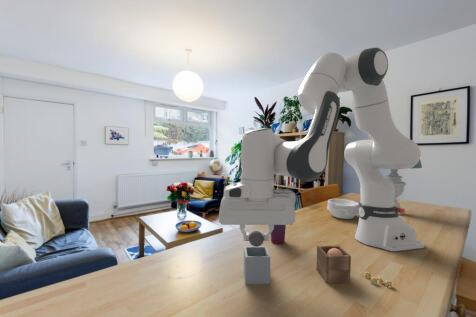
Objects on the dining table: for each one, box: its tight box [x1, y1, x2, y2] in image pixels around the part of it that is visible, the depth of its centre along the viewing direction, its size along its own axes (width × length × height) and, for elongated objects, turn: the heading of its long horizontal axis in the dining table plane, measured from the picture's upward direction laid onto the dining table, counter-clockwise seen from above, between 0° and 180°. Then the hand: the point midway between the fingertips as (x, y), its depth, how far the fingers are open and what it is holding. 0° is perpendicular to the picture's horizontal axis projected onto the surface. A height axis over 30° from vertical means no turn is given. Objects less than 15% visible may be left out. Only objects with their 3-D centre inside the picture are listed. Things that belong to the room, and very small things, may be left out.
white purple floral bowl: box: [326, 198, 359, 220], centre depth 117 cm, size 15×15×8 cm
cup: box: [270, 225, 287, 245], centre depth 85 cm, size 7×7×15 cm
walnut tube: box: [316, 245, 352, 284], centre depth 61 cm, size 6×6×7 cm
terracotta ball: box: [327, 248, 343, 255], centre depth 60 cm, size 4×4×4 cm
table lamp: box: [385, 159, 423, 216], centre depth 125 cm, size 24×24×40 cm
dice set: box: [364, 271, 393, 289], centre depth 59 cm, size 5×5×2 cm
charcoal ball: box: [248, 230, 265, 247], centre depth 60 cm, size 4×4×4 cm
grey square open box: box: [243, 245, 271, 285], centre depth 60 cm, size 6×6×7 cm
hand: (256, 240), depth 60 cm, fingers closed on charcoal ball, 4 cm apart
